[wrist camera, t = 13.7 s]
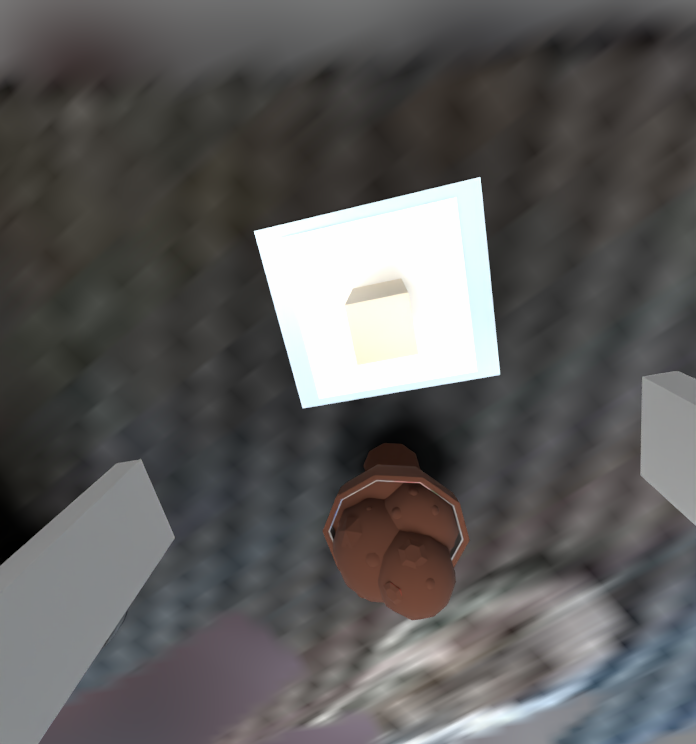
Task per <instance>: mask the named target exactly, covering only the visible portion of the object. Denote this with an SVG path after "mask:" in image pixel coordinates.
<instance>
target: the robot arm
mask: <svg viewBox="0 0 696 744" xmlns="http://www.w3.org/2000/svg"><path fill="white" fill-rule="evenodd" d="M641 476H642V477H643V478H644V479H645V480H646V481H647V482H648V483H650V484H651V485H652V486H653V487H654V488H655V489H656V490H657V491H658V492H659V493H661V494H662V495H663V496H664V497H665V498H666V499H667V500H668V501H669V502H670V503H672V504H673V505H674V506H675V507H676V508H677V509H678V510H679V511H680V512H681V513H683V514H684V515H685V516H686V517H687V518H688V519H689V520H690V521H691V522H692V523H694V524H695V525H696V379H694V378H692V377H690V376H687V375H685V374H683V373H681V372H679V371H674V372H668V373H662V374H656V375H650V376H644V377H642V423H641ZM174 539H175V537H174V534H173V532H172V530H171V527H170V525H169V523H168V520H167V518H166V516H165V514H164V511H163V509H162V507H161V504H160V502H159V500H158V497H157V495H156V493H155V490H154V488H153V486H152V483H151V481H150V479H149V476H148V474H147V472H146V470H145V467H144V465H143V463H142V460H141V459H140V460H134V461H128V462H122V463H117V464H115V465H114V466H113V467H112V468H111V469H110V470H109V471H107V472H106V473H105V474H104V475H103V476H102V477H101V478H99V479H98V480H97V481H96V482H95V483H94V484H93V485H92V486H90V487H89V488H88V489H87V490H86V491H85V492H84V493H82V494H81V495H80V496H79V497H78V498H77V499H76V500H74V501H73V502H72V503H71V504H70V505H69V506H68V507H66V508H65V509H64V510H63V511H62V512H61V513H60V514H59V515H57V516H56V517H55V518H54V519H53V520H52V521H51V522H49V523H48V524H47V525H46V526H45V527H44V528H43V529H41V530H40V531H39V532H38V533H37V534H36V535H35V536H33V537H32V538H31V539H30V540H29V541H28V542H27V543H26V544H24V545H23V546H22V547H21V548H20V549H19V550H18V551H16V552H15V553H14V554H13V555H12V556H11V557H10V558H8V559H7V560H6V561H5V562H4V563H3V564H2V565H0V744H38V743H39V741H40V740H41V738H42V737H43V735H44V734H45V732H46V731H47V729H48V728H49V726H50V725H51V723H52V722H53V720H54V719H55V717H56V716H57V714H58V713H59V711H60V710H61V708H62V707H63V705H64V704H65V702H66V701H67V699H68V698H69V696H70V695H71V693H72V692H73V690H74V689H75V687H76V686H77V684H78V683H79V681H80V680H81V678H82V677H83V675H84V674H85V672H86V671H87V669H88V668H89V666H90V665H91V663H92V662H93V660H94V659H95V657H96V656H97V654H98V653H99V651H100V650H101V649H102V648H103V647H104V646H106V645H107V644H108V642H109V641H110V640H111V639H112V638H113V636H114V635H115V633H116V632H117V630H118V628H119V627H120V625H121V624H122V622H123V621H124V618H125V615H126V611H127V609H128V608H129V606H130V605H131V603H132V602H133V600H134V599H135V597H136V596H137V594H138V593H139V591H140V590H141V588H142V587H143V585H144V584H145V582H146V581H147V579H148V578H149V576H150V575H151V573H152V572H153V570H154V569H155V567H156V566H157V564H158V563H159V561H160V560H161V558H162V557H163V555H164V554H165V552H166V551H167V549H168V548H169V546H170V545H171V543H172V542H173V540H174Z"/></svg>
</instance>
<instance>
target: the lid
mask: <svg viewBox="0 0 696 744" xmlns="http://www.w3.org/2000/svg"><path fill="white" fill-rule="evenodd" d="M278 241H279V245H280V249H281V253H282V257H283V261H284V264H285V268H286V272H287V276H288V280H289V284H290V288H291V292H292V295H293V299H294V303H295V307H296V311H297V315H298V319H299V323H300V326H301V330H302V334H303V338H304V342H305V346H306V350H307V354H308V357H309V361H310V365H311V369H312V373H313V377H314V381H315V385H316V388H317V392H318V396H319V399H322V398H327V397H333V396H339V395H345V394H351V393H356V392H362V391H368V390H374V389H380V388H385V387H391V386H397V385H403V384H408V383H414V382H420V381H426V380H432V379H437V378H443V377H449V376H455V375H461V374H466V373H472V372H477V364H476V356H475V347H474V339H473V330H472V322H471V314H470V305H469V297H468V288H467V280H466V272H465V263H464V255H463V247H462V238H461V230H460V221H459V213H458V205H457V197H455V198H450V199H446V200H442V201H438V202H433V203H429V204H425V205H421V206H416V207H412V208H408V209H404V210H399V211H395V212H391V213H387V214H382V215H378V216H374V217H370V218H365V219H361V220H357V221H352V222H348V223H344V224H340V225H335V226H331V227H327V228H323V229H318V230H314V231H310V232H306V233H301V234H297V235H293V236H289V237H284V238H280V239H278Z"/></svg>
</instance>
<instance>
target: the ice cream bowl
mask: <svg viewBox="0 0 696 744" xmlns="http://www.w3.org/2000/svg"><path fill="white" fill-rule="evenodd" d="M363 466H364V469H365V472H364V473H362V474H360V475H358V476H357V477H355V478H353V479H351V480H350V481H348V482H347V483H345V484H344V485H343V486H342V487H341V488H340V490H339V492H338V494H337V496H336V499H335V501H334V504H333V506H332V509H331V512H330V514H329V517H328V519H327V522H326V524H325V527H324V529H323V533H324V536H325V538H326V541H327V543H328V546H329V548H330V550H331V553H332V555H333V558H334V560H335V563H336V565H337V568H338V569H339V571H340V572H341V574H342V577H343V579H344V581H345V583H346V585H347V586H348V587H349V588H351V589H352V590H354V591H355V592H356V593H357V594H358V596H359V597H361V598H365V599H367V600H369V601H372V602H385V604H386V606H387V607H388V608H390V609H392V610H393V611H395V612H397V613H399V614H401V615H403V616H405V617H407V618H409V619H411V620H418V619H424V618H429V617H434V616H435V615H436V614H437V613H439V612H440V611H441V610H442V609H443V608H444V607H445V606H446V605H447V604H448V602H449V600H450V597H451V594H452V591H453V588H454V585H455V583H456V580H455V571H454V567H455V565H456V563H457V561H458V560H459V558H460V556H461V554H462V553H463V551H464V549H465V547H466V545H467V544H468V542H469V536H468V533H467V529H466V525H465V521H464V518H463V514H462V510H461V507H460V503H459V502H458V500H457V498H456V497H455V495H454V494H453V492H451V491H450V490H448V489H447V488H446V487H444V486H443V485H441V484H440V483H439V482H437V481H436V480H434V479H433V478H431V477H430V476H429V475H427V474H426V473H424V472H423V471H421V470H420V467H419V463H418V460H417V456H416V453H414V452H413V451H411V450H410V449H408V448H407V447H406V446H404V445H403V444H396V443H383V444H381V445H380V446H378V447H376V448H374V449H373V450H371V451H369V453H368V456H367V458H366V461H365V463H364V465H363Z"/></svg>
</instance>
